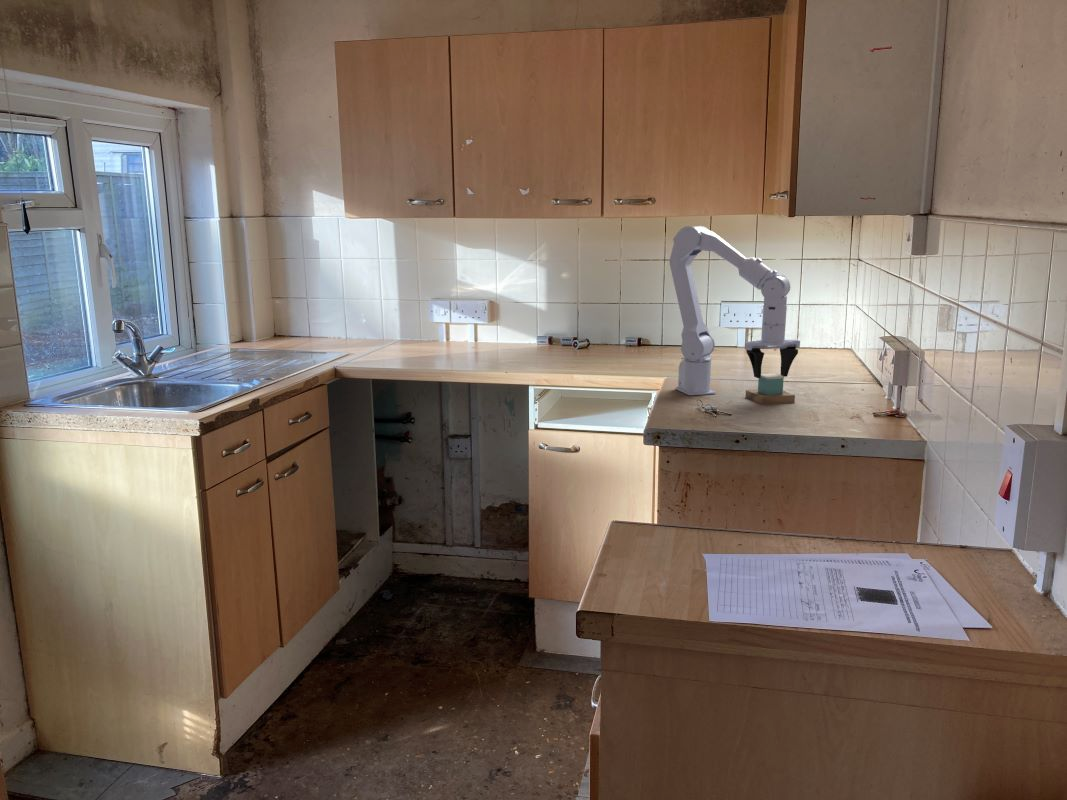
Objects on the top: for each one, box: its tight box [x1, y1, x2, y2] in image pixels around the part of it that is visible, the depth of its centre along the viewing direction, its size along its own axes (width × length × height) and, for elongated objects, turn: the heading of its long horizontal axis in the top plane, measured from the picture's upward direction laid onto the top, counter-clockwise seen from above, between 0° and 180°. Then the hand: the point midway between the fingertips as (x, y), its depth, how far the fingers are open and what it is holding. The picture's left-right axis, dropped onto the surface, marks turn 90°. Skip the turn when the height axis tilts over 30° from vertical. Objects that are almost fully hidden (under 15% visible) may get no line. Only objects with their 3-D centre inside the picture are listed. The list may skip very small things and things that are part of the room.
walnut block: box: [745, 388, 796, 405], centre depth 214 cm, size 9×9×2 cm
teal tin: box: [757, 372, 785, 395], centre depth 213 cm, size 5×5×5 cm
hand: (770, 376), depth 213 cm, fingers open, 7 cm apart
